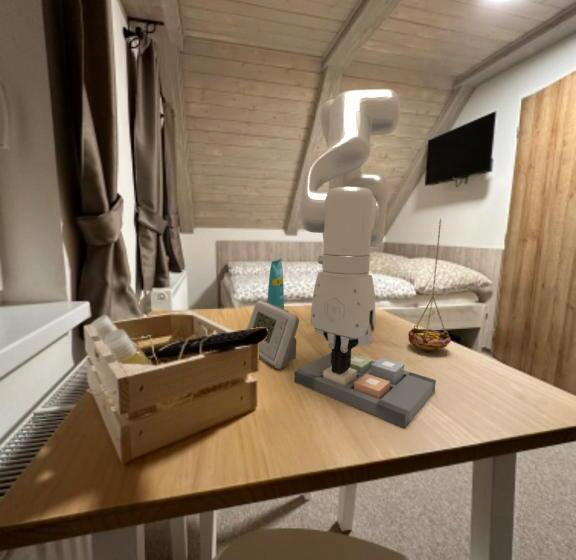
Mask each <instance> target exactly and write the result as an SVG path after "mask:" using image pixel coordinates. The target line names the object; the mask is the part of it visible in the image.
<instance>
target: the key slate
mask: <svg viewBox="0 0 576 560" xmlns="http://www.w3.org/2000/svg"><path fill="white" fill-rule="evenodd" d="M404 370H405V364H404V363H402V362H398V361H396V360H395V361H394V360H391V359H388V358H384V357H380V358H379V359H378V360H376V361H375V363H373V364H372V366H371V375H372V376H375V377H378V378H381V379H384V380H387V381H390V384H393V385H396V384H397V383H398V382H399V381H400V380H401V379H402V378H403V375H404Z"/></svg>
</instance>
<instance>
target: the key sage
mask: <svg viewBox="0 0 576 560" xmlns="http://www.w3.org/2000/svg"><path fill="white" fill-rule="evenodd" d="M351 354H352V355H351V365H350V368H351V369H354V370H357V372H358V373H361V374H364V373H365V372H366V371H368V370H369V369H371V366H372V361H373V359H371V358H367V357H365V356H360V355H357V354H353V353H351Z"/></svg>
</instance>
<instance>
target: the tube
mask: <svg viewBox="0 0 576 560" xmlns="http://www.w3.org/2000/svg"><path fill="white" fill-rule="evenodd" d="M284 286H285V285H284V273H283V263H282V258H278V259H276V260H273V261H271V264H270V270H269V276H268V286H267V287H268V288H267V290H268V291H267V302H266V303H270V304H272V305H275V306H277V307H279V308H282V309H284V310H285V293H284Z"/></svg>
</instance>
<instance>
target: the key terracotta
mask: <svg viewBox="0 0 576 560" xmlns="http://www.w3.org/2000/svg"><path fill="white" fill-rule="evenodd" d="M354 390H356V391H359V392H361V393H364V394H367V395H369V396H372V397H374V398H377V399H380V400H381V399H382V398H383V397H384V396H385V395H386V394H387V393H388V392H389V390H390V381H387V380H384V379H381V378H378V377H375V376H372V375H369V374H365V375H364V376H362V377H361V378H360V379H358V380H357V381H355V382H354Z"/></svg>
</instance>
